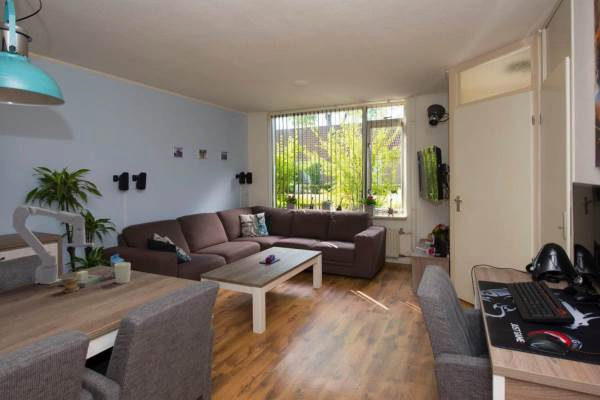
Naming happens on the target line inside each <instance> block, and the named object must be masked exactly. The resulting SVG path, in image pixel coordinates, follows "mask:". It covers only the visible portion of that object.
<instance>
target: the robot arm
mask: <svg viewBox="0 0 600 400" xmlns="http://www.w3.org/2000/svg"><path fill="white" fill-rule="evenodd" d="M38 215H39V216H45V217H49V218H54V219H56V221H58V222H62V223H66V224H72V225H73V227H72V235H73V243H66V244H65V245H64V246H65V249H66V251H67V253H68V254H69V256H70V258H71V260H72V261H75V260H76V248H84V251H85V260H86V261H88V260H90V257H91V253H92V250H93V249H94V247H95V243H94V242H86V241H87V240H86V228H85V225H86V224H85V223H86V218H85V217H84V216H82V214H77V213H75V212H74V213H72V212H68V211H67V210H65V209H64V210H60V211H54V210H51V209H50V210H49V209H47V208H42V207H37V206H31V205H26V204H25V205H24V204H23V205H22V204H21V205H18V206H17V207H16V208H15V209H14V211H13V213H12V228H13V230H15V231H16V232H17V234H18V235H19V236H20V237H21V238H22V239H23V240H24V241H25V243H26V244H27V245H28V246H29V247H30V248H31V249H32V250H33V251H34V252H35V253H36V255H37V256H38V258H39V259H40V261H41V265H39V266H37V267H36V269H35V282H34V284H38V283H40V284H39V285H52V284H54V283H58V282H60V281H62V280H63V279H62V278H58V264H57V258H56V257H57V256H56V254H55V253H54V252H51V251H49V249H48V248H47V247H45V246H44V245H43V244H42V242H41V241H40V240H39V239H38V238H37V237H36V236H35V234H34V233H33V232H32V231H31V230H30V229H29V227H27V225H26V222H27V219H28V218H29V216H31V217H33V216H38Z"/></svg>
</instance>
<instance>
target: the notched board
mask: <svg viewBox="0 0 600 400" xmlns="http://www.w3.org/2000/svg"><path fill="white" fill-rule="evenodd" d="M103 280H105V275H101V274H100V275H98V274H88V279H87V280H84V281H77V286H78V287H79V288H86V287H89V286H91V285H93V284H96V283H98V282H101V281H103ZM60 284H61V286H62V285H64V287H65V283H63V281H62V280H61V283H60Z"/></svg>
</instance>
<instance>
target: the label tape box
mask: <svg viewBox="0 0 600 400" xmlns="http://www.w3.org/2000/svg"><path fill="white" fill-rule="evenodd" d="M122 262H126V261H125V259H123V258H121V257H120V253H116V254H114V255H112V256H110V275H111V278H115V279H116V277H115V264H117V263H122Z"/></svg>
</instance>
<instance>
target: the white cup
mask: <svg viewBox="0 0 600 400" xmlns="http://www.w3.org/2000/svg"><path fill="white" fill-rule="evenodd" d="M130 276H131V262H129V261H127V262H126V261H125V262H122V263H117V264H115V277H116V278H115V283H117V284H126V283H129V282H130V280H131V279H130V278H131V277H130Z"/></svg>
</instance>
